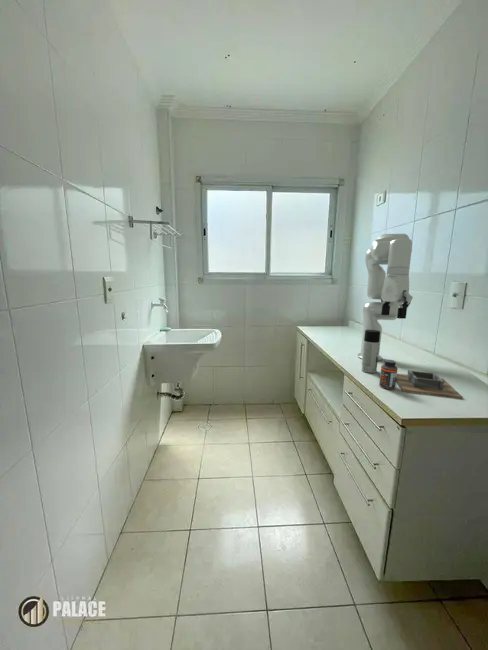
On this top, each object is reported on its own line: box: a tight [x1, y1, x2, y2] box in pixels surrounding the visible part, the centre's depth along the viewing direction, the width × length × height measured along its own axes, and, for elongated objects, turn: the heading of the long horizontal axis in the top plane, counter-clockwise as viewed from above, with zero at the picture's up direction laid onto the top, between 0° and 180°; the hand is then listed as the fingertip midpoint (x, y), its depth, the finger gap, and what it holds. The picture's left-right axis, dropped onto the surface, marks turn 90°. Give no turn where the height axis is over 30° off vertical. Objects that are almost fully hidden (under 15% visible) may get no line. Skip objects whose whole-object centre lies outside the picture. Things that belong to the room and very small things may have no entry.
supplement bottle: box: [378, 359, 398, 390], centre depth 113 cm, size 6×6×11 cm
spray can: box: [361, 330, 380, 374], centre depth 131 cm, size 7×7×20 cm
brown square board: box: [396, 369, 463, 400], centre depth 115 cm, size 20×20×4 cm
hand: (392, 316), depth 108 cm, fingers open, 9 cm apart
